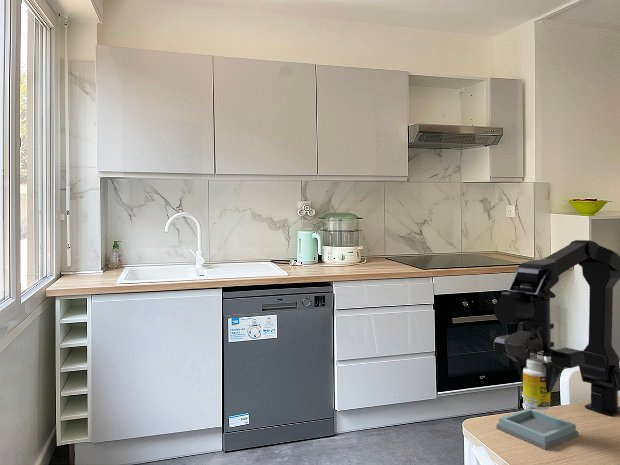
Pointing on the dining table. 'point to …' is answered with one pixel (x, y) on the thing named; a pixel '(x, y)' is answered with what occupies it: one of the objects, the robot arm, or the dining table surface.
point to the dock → (537, 428)
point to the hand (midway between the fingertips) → (536, 388)
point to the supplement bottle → (535, 385)
